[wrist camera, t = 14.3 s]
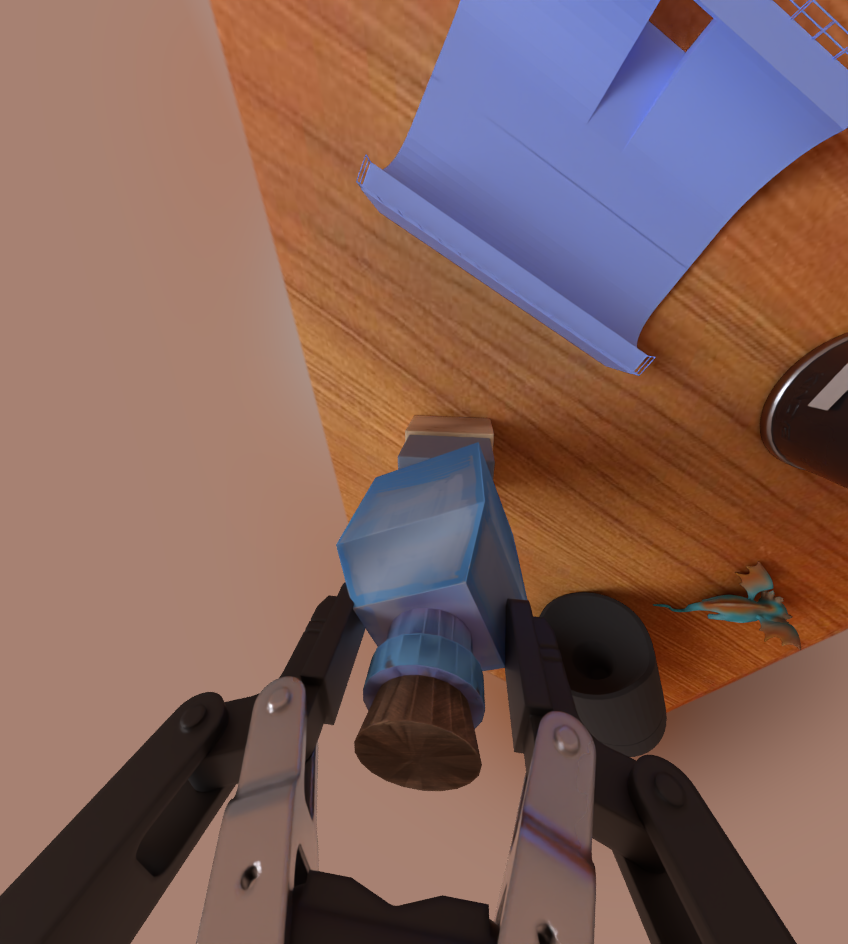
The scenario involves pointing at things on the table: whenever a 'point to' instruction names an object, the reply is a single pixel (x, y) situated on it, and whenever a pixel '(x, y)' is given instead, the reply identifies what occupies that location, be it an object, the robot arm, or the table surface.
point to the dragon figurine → (751, 607)
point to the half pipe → (602, 150)
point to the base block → (451, 427)
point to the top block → (440, 449)
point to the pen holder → (610, 670)
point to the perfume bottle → (430, 614)
